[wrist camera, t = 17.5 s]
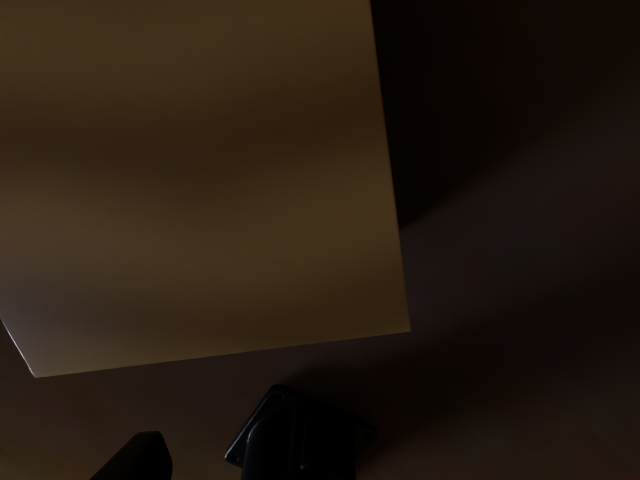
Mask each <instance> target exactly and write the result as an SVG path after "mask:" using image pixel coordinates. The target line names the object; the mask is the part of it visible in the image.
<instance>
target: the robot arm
mask: <svg viewBox="0 0 640 480" xmlns="http://www.w3.org/2000/svg"><path fill="white" fill-rule="evenodd" d="M277 393H278V394H281V395H276V394H277ZM366 433H369V434H366ZM376 438H377V431H376V428H375V426H373V425H371V424H369V423H367V422H365V421H362V420H360V419H358V418H356V417H353V416H351V415H349V414H347V413H344V412H342V411H340V410H338V409H335V408H333V407H331V406H329V405H326V404H324V403H322V402H320V401H317V400H315V399H313V398H311V397H308V396H306V395H304V394H302V393H299V392H297V391H295V390H292V389H290V388H288V387H286V386H283V385H280V384H276V385H273V386H272V387H271V388H270V389H269V390H268V392H267V393H266V395H265V396H264V397H263V399H262V400H261V402H260V403H259V405H258V406H257V407H256V409H255V410H254V412H253V413H252V415H251V416H250V417H249V419H248V420H247V422H246V423H245V424H244V426H243V427H242V429H241V430H240V432H239V433H238V434H237V436H236V437H235V439H234V440H233V442H232V443H231V444H230V446H229V447H228V449H227V451H226V455H225V460H226V461H227V462H229V463H231V464H233V465H236V466H238V467H241V468H243V469H242V474H241V479H240V480H356V467H355V462H356V461H357V460H358V459H359V458H360V456H361V455H362V454H363V453H364V452H365V451H366V450H367V449H368V448H369V446H370V445H371V444H372V443H373V442H374V441H375V440H376ZM172 468H173V466H172V459H171V456H170V454H169V451H168V449H167V446H166V443H165V441H164V438H163V436H162V434H161V433H160V432H159V431H146V432H139V433H137V434H136V435H134V436H133V437H132V438H131V439H130V440H129V441H128V442H127V443H126V444H125V445H124V446H123V447H122V448H121V449H120V450H119V451H118V452H117V453H116V454H115V455H114V456H113V457H112V458H111V459H110V460H109V461H108V462H107V463H106V464H105V465H104V466H103V467H102V468H101V469H100V470H99V471H98V472H97V473H96V474H95V475H94V476H93V477H92V478H91V479H90V480H171V476H172Z"/></svg>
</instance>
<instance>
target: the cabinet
mask: <svg viewBox="0 0 640 480" xmlns="http://www.w3.org/2000/svg"><path fill="white" fill-rule="evenodd" d="M0 319H1V320H2V322H3V324H4V326H5V327H6V329H7V331H8V332H9V334H10V336H11V337H12V339H13V341H14V342H15V344H16V346H17V348H18V349H19V351H20V353H21V354H22V356H23V358H24V359H25V361H26V363H27V365H28V366H29V368H30V370H31V371H32V373H33V375H34V376H35V377H36V378H38V377H46V376H54V375H62V374H70V373H78V372H86V371H94V370H102V369H110V368H118V367H126V366H134V365H142V364H151V363H159V362H167V361H175V360H183V359H191V358H199V357H207V356H215V355H223V354H231V353H239V352H247V351H255V350H263V349H272V348H280V347H288V346H296V345H304V344H312V343H320V342H328V341H336V340H344V339H352V338H360V337H368V336H376V335H384V334H393V333H401V332H409V331H411V323H410V315H409V307H408V299H407V291H406V283H405V275H404V267H403V259H402V251H401V243H400V235H399V227H398V219H397V211H396V203H395V195H394V187H393V179H392V171H391V163H390V155H389V147H388V139H387V131H386V123H385V115H384V107H383V99H382V91H381V83H380V75H379V67H378V59H377V51H376V43H375V35H374V27H373V19H372V11H371V3H370V0H0Z"/></svg>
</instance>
